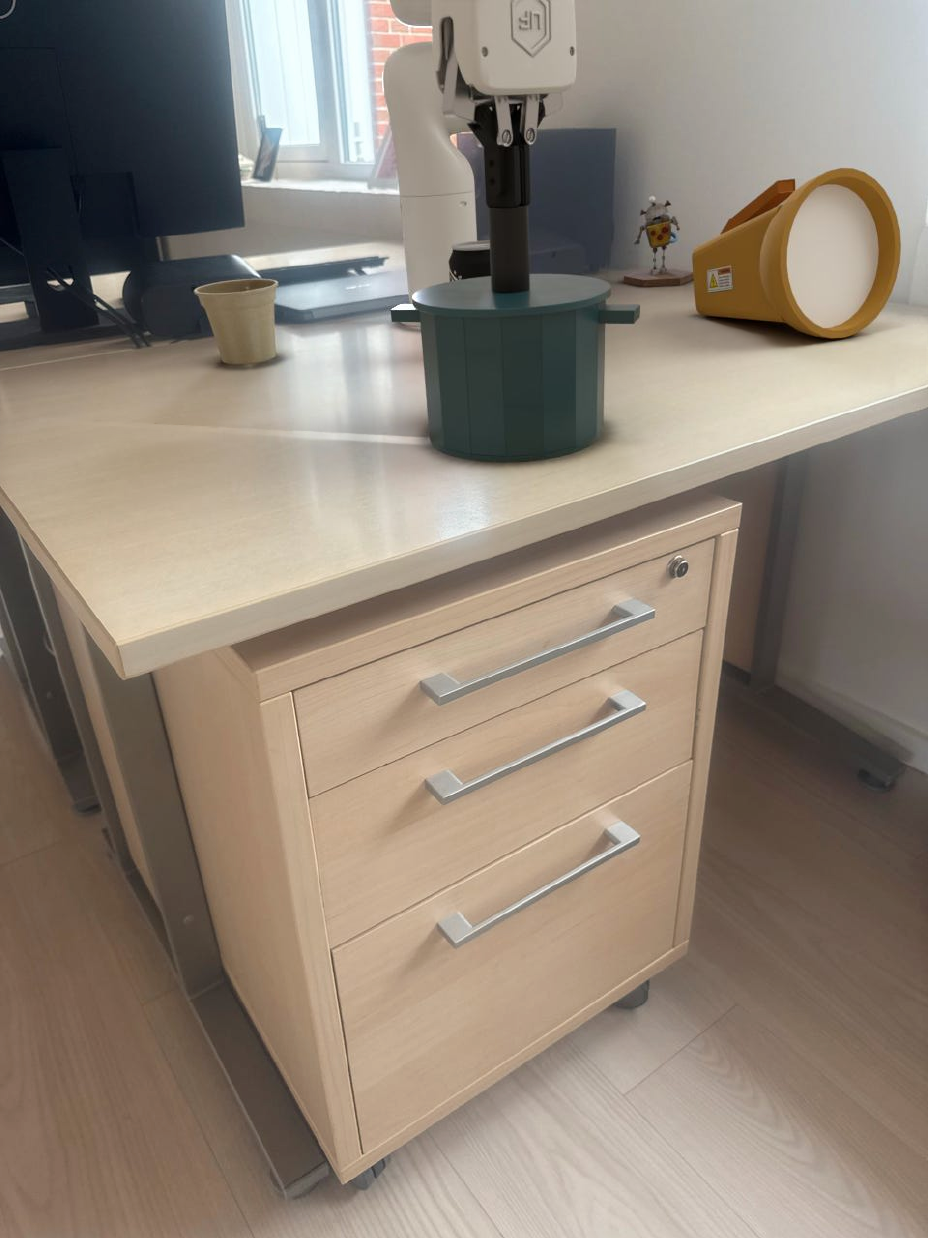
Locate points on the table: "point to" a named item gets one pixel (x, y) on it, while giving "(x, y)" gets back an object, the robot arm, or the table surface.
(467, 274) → the beverage can
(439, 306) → the lid
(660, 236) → the robot figurine
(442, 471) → the table surface
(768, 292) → the flared yellow plastic housing
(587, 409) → the pot
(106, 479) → the table surface
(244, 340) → the flower pot
